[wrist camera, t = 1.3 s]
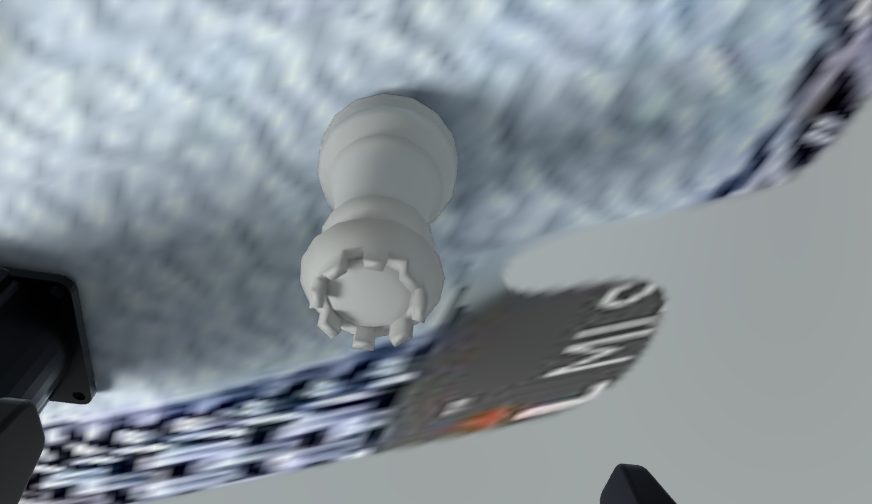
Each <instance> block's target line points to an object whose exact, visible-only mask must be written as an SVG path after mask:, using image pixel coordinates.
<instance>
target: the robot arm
mask: <svg viewBox="0 0 872 504" xmlns="http://www.w3.org/2000/svg"><path fill="white" fill-rule="evenodd" d="M57 287H58V288H60V289H62V290H63V291H61V290H59V289H58V288H57ZM95 394H96V387H95V381H94V376H93V371H92V365H91V360H90V355H89V349H88V344H87V339H86V333H85V328H84V323H83V318H82V312H81V307H80V302H79V296H78V291H77V287H76V284H75V283H74V282H73V281H72V280H71V279H69V278H68V277H66V276H62V275H57V274H50V273H42V272H35V271H28V270H21V269H13V268H6V267H0V504H18V503H19V501H20V499H21V496H22V494H23V492H24V490H25V488H26V486H27V483H28V481H29V479H30V477H31V475H32V473H33V471H34V468H35V466H36V464H37V462H38V460H39V458H40V455H41V453H42V451H43V447H44V443H45V436H44V431H43V428H42V424H41V421H40V417H39V414H40V413H41V411H42V410H43V409H44V407H45V406H46V405H47V403H48V402H49V401H57V402H65V403H74V404H87V403H89V402H90V401H91V400H92V399H93V397H94V396H95ZM600 504H676V502H675V501H674V500H673V499H672V498H671V497H670V496H669V494H668V493H667V492H666V491H665V490H664V489H663V487H662V486H661V485H660V484H659V483H658V482H657V480H656V479H655V478H654V477H653V476H652V475H651V474H650V473H649V472H648V470H647V469H645V468H644V467H642V466H639V465H631V464H619V465H617V466H616V468H615V469H614V471H613V473H612V474H611V476H610V478H609V480H608V482H607V484H606V485H605V487H604V489H603V491H602V494H601V497H600Z"/></svg>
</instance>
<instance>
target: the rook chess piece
mask: <svg viewBox="0 0 872 504" xmlns="http://www.w3.org/2000/svg"><path fill="white" fill-rule="evenodd" d="M457 165H458V156H457V151H456V147H455V142H454V137H453V134H452V133H451V132H450V130H449V129H448V127H447V126H446V125H445V123H444V122H443V121H442V119H441V118H440V116H439V115H438V114H437V113H436V112H434V111H433V110H431V109H430V108H428V107H426V106H425V105H423V104H421V103H420V102H418V101H417V100H415V99H413V98H409V97H403V96H397V95H391V94H385V93H384V94H379V95H375V96H371V97H366V98H362V99H357V100H355V101H354V102H353V103H351V104H350V105H349V106H347V107H346V108H344V109H343V110H342V111H340V112H339V113H338V114H336V115H335V116H334V118H333V119H332V121H331V123H330V125H329V127H328V128H327V130H326V132H325V134H324V136H323V137H322V144H321V149H320V152H319V166H318V178H319V181H320V184H321V187H322V189H323V192H324V195H325V197H326V200H327V203H328V204H329V205H330V207H331V208H332V209H333V211H332V212H331V214H330V215H329V217H328V219H327V220H326V222H325V224H324V225H323V227H322V233H321V234H319V235H318V236H316V237H315V238H314V239H313V241H312V242H311V244H310V246H309V247H308V249H307V251H306V252H305V254H304V255H303V257H302V259H301V276H300V283H301V285H302V287H303V290H304V292H305V294H306V297H307V299H308V301H309V304H310V306H309V308H315V309H316V310H317V311H318V312H319V313H320V315H319V319H318V323H317V326H318V327H319V328H320V329H321V330H322V331H323V332H324V333H325V334H326V335H328V336H329V337H330V338H331V339H333V338H334V337H335V336H336V335H337V334H339V333H340V330H341V329H342V330H344V331H347V332H349V333H351V334H353V335H354V337H353V343H352V348H353V349H361V350H369V351H374V342H375V337H380V336H386V335H389V339H390V341H391V342H392V344H393V346H394V347H396V346H398V345H400V344H402V343H403V342H405V341H407V340H409V339H411V338H412V334H413V325H415V324H417V323H418V322H422V323H424V321H425V318H426V317H427V316H428V315H429V313H430V312H431V311H432V310H433V308H434V307H435V306H436V305H437V303H438V302H439V301H440V297H441V293H442V288H443V284H444V279H445V278H444V274H443V270H442V266H441V263H440V259H439V255H438V254H437V253H436V252H435V250H434V249H433V247H434V241H433V237H432V233H431V229H430V226H429V223H431V222H432V221H434V220H436V218H437V217H438V216H439V214H440V213H441V211H442V210H443V209H444V207H445V206H446V204H447V203H448V202H449V200H450V199H451V197H452V195H453V190H454V185H455V181H456V176H457Z"/></svg>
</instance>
